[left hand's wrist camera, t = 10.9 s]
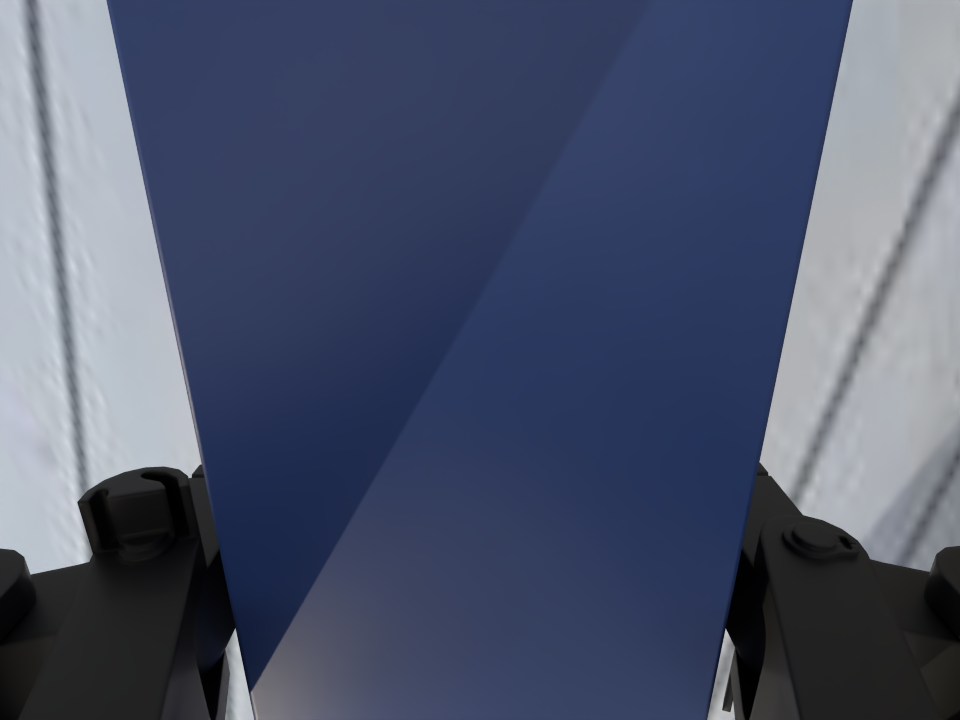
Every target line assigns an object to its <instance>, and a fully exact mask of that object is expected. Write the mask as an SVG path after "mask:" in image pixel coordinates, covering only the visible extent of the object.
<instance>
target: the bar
mask: <svg viewBox="0 0 960 720" xmlns="http://www.w3.org/2000/svg"><path fill="white" fill-rule="evenodd" d="M852 2H853V0H107V5H108V9H109V14H110V19H111V24H112V29H113V34H114V39H115V44H116V48H117V53H118V58H119V63H120V68H121V73H122V78H123V82H124V87H125V92H126V97H127V102H128V107H129V112H130V117H131V121H132V126H133V131H134V136H135V141H136V146H137V151H138V155H139V160H140V165H141V170H142V175H143V180H144V185H145V189H146V194H147V199H148V204H149V209H150V214H151V219H152V224H153V228H154V233H155V238H156V243H157V248H158V253H159V258H160V262H161V267H162V272H163V277H164V282H165V287H166V292H167V297H168V301H169V306H170V311H171V316H172V321H173V326H174V331H175V335H176V340H177V345H178V350H179V355H180V360H181V365H182V369H183V374H184V379H185V384H186V389H187V394H188V399H189V404H190V408H191V413H192V418H193V423H194V428H195V433H196V438H197V442H198V447H199V452H200V457H201V462H202V467H203V472H204V477H205V481H206V486H207V491H208V496H209V501H210V506H211V511H212V515H213V520H214V525H215V530H216V535H217V540H218V545H219V550H220V554H221V559H222V564H223V569H224V574H225V579H226V584H227V588H228V593H229V598H230V603H231V608H232V613H233V618H234V622H235V627H236V632H237V637H238V642H239V647H240V652H241V657H242V661H243V666H244V671H245V676H246V681H247V686H248V691H249V695H250V700H251V705H252V710H253V715H254V720H707V717H708V713H709V708H710V703H711V698H712V693H713V688H714V683H715V678H716V673H717V668H718V663H719V658H720V653H721V648H722V644H723V639H724V634H725V629H726V624H727V619H728V614H729V609H730V604H731V599H732V594H733V589H734V584H735V579H736V574H737V570H738V565H739V560H740V555H741V550H742V545H743V540H744V535H745V530H746V525H747V520H748V515H749V510H750V505H751V501H752V496H753V491H754V486H755V481H756V476H757V471H758V466H759V461H760V456H761V451H762V446H763V441H764V436H765V431H766V427H767V422H768V417H769V412H770V407H771V402H772V397H773V392H774V387H775V382H776V377H777V372H778V367H779V362H780V358H781V353H782V348H783V343H784V338H785V333H786V328H787V323H788V318H789V313H790V308H791V303H792V298H793V293H794V288H795V284H796V279H797V274H798V269H799V264H800V259H801V254H802V249H803V244H804V239H805V234H806V229H807V224H808V219H809V215H810V210H811V205H812V200H813V195H814V190H815V185H816V180H817V175H818V170H819V165H820V160H821V155H822V150H823V145H824V141H825V136H826V131H827V126H828V121H829V116H830V111H831V106H832V101H833V96H834V91H835V86H836V81H837V76H838V72H839V67H840V62H841V57H842V52H843V47H844V42H845V37H846V32H847V27H848V22H849V17H850V12H851V7H852Z"/></svg>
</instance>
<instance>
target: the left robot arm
mask: <svg viewBox="0 0 960 720" xmlns="http://www.w3.org/2000/svg"><path fill="white" fill-rule="evenodd" d="M77 503H78V506H79V509H80V513H81V516H82V519H83V522H84V526H85V529H86V532H87V536H88V539H89V542H90V546H91V549H92V552H93V555H92V557H91V559H90V562H87V563H84V564H80V565H75V566H70V567H66V568H61V569H56V570H51V571H46V572H41V573H37V574H32V575H30V572H29V569H28V567H27V564H26V561H25V558H24V557H23V556H22V555H21V554H19V553H18V552H16V551H15V550H8V549H0V720H225V713H226V704H227V695H228V685H229V676H230V671H229V665H228V659H227V655H226V650H225V648H226V646H227V644H228V642H229V640H230V638H231V636H232V634H233V632H234V630H235V628H236V627H235V622H234V618H233V613H232V608H231V603H230V598H229V593H228V588H227V584H226V579H225V574H224V569H223V564H222V559H221V554H220V550H219V545H218V540H217V535H216V530H215V525H214V520H213V515H212V511H211V506H210V501H209V496H208V491H207V486H206V481H205V477H204V472H203V467H202V465H199V467H198V468H197V469H196V470H195V472H194V473H193V474H192V478H189V479H188V476H187V475H186V474H184V473H183V472H182V471H180V470H179V469H174V468H169V467H146V468H141V469H137V470H132V471H128V472H124V473H121V474H119V475H116V476H114V477H111V478H109V479H106V480H104V481H102V482H101V483H99V484H98V485H96V486H94V487H93V488H91V489H90V490H88V491H87V492H86V493H85V494H84V495H83V496H82V498H81V499H80V500H79V501H78V502H77ZM726 630H727V632H728V634H729V636H730V638H731V640H732V642H733V644H734V646H735V650H734V655H733V659H732V664H731V669H730V673H729V678H728V683H727V687H726V692H725V697H724V702H723V708H722V710H724V711H728V712H730V711H731V707H732V702H733V703H734V712H735V720H960V546H955V547H946V548H944V549H943V550H942V551H940V552H939V553H937V554H936V557H935V560H934V562H933V565H932V568H931V571H930V572H926V571H922V570H917V569H912V568H907V567H902V566H897V565H892V564H887V563H883V562H879V561H875V560H871V559H870V558H869V556H868V554H867V552H866V551H865V550H864V548H863V547H862V546H861V544H860V543H859V542H858V540H856V539H855V538H853V537H852V536H851V535H849V534H848V533H847V532H845V531H844V530H842V529H841V528H838V527H836V526H834V525H832V524H830V523H827V522H825V521H823V520H819V519H815V518H812V517H808V516H804V515H802V513H801V512H800V511H799V510H798V509H797V507H796V506H795V505H794V504H793V502H792V501H791V500H790V499H789V498H788V496H787V495H786V494H785V493H784V491H783V490H782V489H781V488H780V487H779V485H778V484H777V483H776V482H775V480H774V479H773V478H772V477H771V476H768V472H767V471H766V469H765V468H764V467H763V466H762V465H761V463H759V466H758V471H757V476H756V481H755V486H754V491H753V496H752V501H751V505H750V510H749V515H748V520H747V525H746V530H745V535H744V540H743V545H742V550H741V555H740V560H739V565H738V570H737V574H736V579H735V584H734V589H733V594H732V599H731V604H730V609H729V614H728V619H727V624H726Z"/></svg>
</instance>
